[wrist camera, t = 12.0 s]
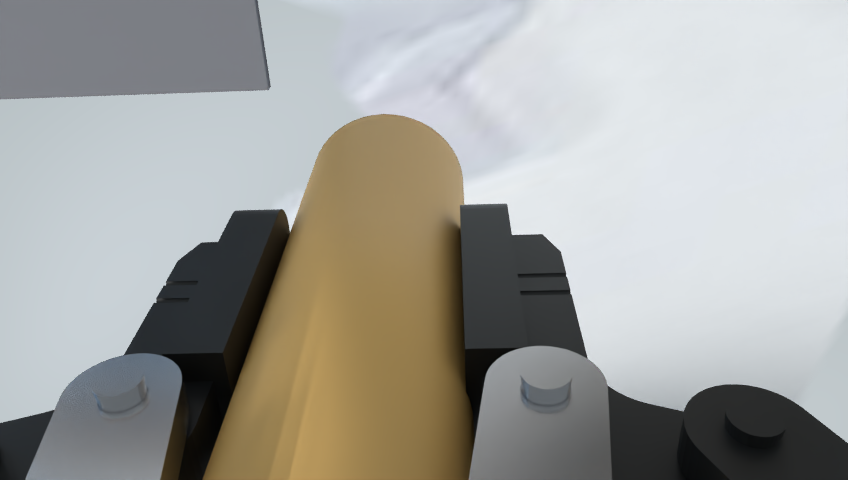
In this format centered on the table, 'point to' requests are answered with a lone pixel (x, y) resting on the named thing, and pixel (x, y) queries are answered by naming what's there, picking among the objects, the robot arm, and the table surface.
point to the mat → (129, 47)
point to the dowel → (361, 323)
